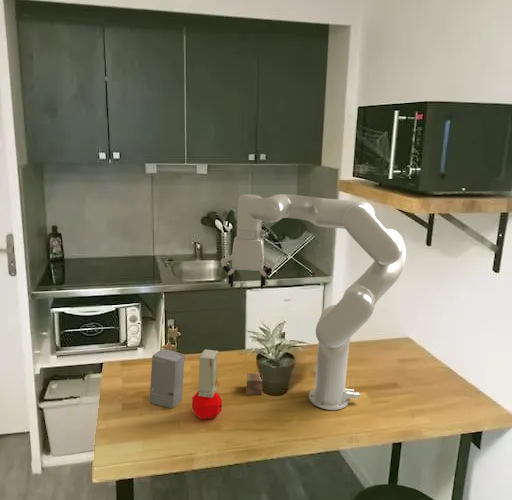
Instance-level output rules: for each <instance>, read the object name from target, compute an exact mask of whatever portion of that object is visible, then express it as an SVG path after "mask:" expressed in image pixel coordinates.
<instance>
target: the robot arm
mask: <svg viewBox="0 0 512 500" xmlns="http://www.w3.org/2000/svg"><path fill="white" fill-rule="evenodd" d="M237 203H238V204H237V226H236V227H237V229H236V236H235V237H234V239H233V244H232V253H231V254H230V255H229V256H226V257H224V258H221V259H220V264H221V266H222V268H223V270H224V271H225V273H227V275H228V280H227V281H228V285H230V288H233V287H234V286H233V285H234V273H235V271H238V270H239V271H253V272H254V271H255V272H256V271H257V272H258V271H259V273H260V289H261V290H262V289H263V290H264V286H266V279H267V275H269V274H271V272H272V270H273V269H274V267H275V265H276V262H275V261H273V260H271V259H269V258H268V257H266V256H265V244H264V243H265V242H264V238H263V237H264V236H265V237H266V234H267V233H266V231H264V230H262V227H263V225H262V224H263V222H267V223H276V222H279V221H280V220H283V219H285V218H286V219H287V218H288V219H296V220H304V221H308V222H309V223H312V224H313V225H314V226H317V227H319V228H320V227H321V228H330V229H341V230H343V229H344V230H345V231H347V233H348V235H350V237H352V239H353V240H354V241H355V242H356V243H357V244H358V245H359V247H360V248H361V249H363V251H364V252H365V253H366V254H367V255H368V256H369V257H370V258H371V259H372V260H373V262H372V264H371V265H369V267H368V268H367V269H366V270H365V272H364V273H363V274H362V275H360V276H359V278H358V279H356V281H355V282H353V283H352V284H351V285H350V286H348V287H347V288H346V289H345V291H344V293H343V295H342V298H341V299H340V300H339V301H338V302H337V303H336V304H332V305H329V306H328V307H326V308H325V309H324V310H323V311H322V313H321V314H320V317H319V319H318V322H317V323H316V326H315V336H316V339H317V341H318V345H317V354H316V366H315V379H314V389H313V390H310V392H309V394H308V399H309V402H310V403H311V404H312V405H314V406H316V407H317V408H319V409H323V410H328V411H336V410H337V411H338V410H341V409H344V408H346V407H347V406H348V405H349V399H350V398H351V399H359V398H360V392H359V391H355V389H354V388H347V387H346V380H347V379H346V378H347V369H348V359H349V350H350V341H351V340H350V339H351V337H352V336H354V335H355V334H356V333H357V332H358V331H359V330H360V329H361V328H362V327H363V326H364V325H365V324H366V323H367V322H368V321H369V319H370V318H371V317H372V315H373V313H374V309H375V305H376V303H377V302H378V301H379V300H380V299H381V298H382V297H383V296H384V295H385V294H386V292H388V290H390V288H391V287H393V285H395V283H396V282H397V280H398V279H399V278H400V276H401V274H402V272H403V270H404V267H405V264H406V259H407V251H406V244H405V242H404V239H403V237H402V235H401V234H400V233H399V232H398V231H397V230H395V229H393V228H386V227H385V226H383V224H382V223H381V222H380V221H379V220H378V218H377V217H376V213H375V209H374V208H373V206H372V204H370V203H369V202H366V201H361V200H352V199H351V200H349V199H337V198H323V197H318V196H317V197H315V196H306V195H297V194H286V193H285V194H284V193H282V194H281V193H280V194H279V193H278V194H273V195H272V196H269V197H262V196H260V195H258V194H249V193H248V194H241V195H240V196H239V197H238V202H237ZM230 261H231V267H229V266H228V265H227V263H228V262H230ZM265 263H266V264H267V265H269V266H268V267H267V268H266V269H265V268H264V264H265Z"/></svg>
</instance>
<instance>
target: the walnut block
mask: <svg viewBox="0 0 512 500" xmlns="http://www.w3.org/2000/svg"><path fill="white" fill-rule="evenodd" d="M260 374H261V373H250V372H249V373H248V372H247V373H246V388H245V389H246V392H245V395H252V396H253V395H255V396H257V395H258V396H262V394H263V378H262V379H261V377H260Z"/></svg>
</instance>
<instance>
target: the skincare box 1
mask: <svg viewBox="0 0 512 500" xmlns="http://www.w3.org/2000/svg"><path fill="white" fill-rule="evenodd" d="M185 355H186V354H184V353H181V352H177V351H175V350H169V349H165V348H161V349H160V350H158V351H157V352H156V353H154V354H153V355H152V357H151V369H150V373H151V374H150V388H149V404H154V405H156V406H157V405H158V406H162V407H164V408H169V409H174V408H175V407H176V406H177V405H178V404H179V403H180V402H181V401H182V399H183V389H184V388H183V387H184V386H183V384H184V371H185V370H184V369H185V359H186V358H185Z"/></svg>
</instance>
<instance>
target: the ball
mask: <svg viewBox="0 0 512 500" xmlns="http://www.w3.org/2000/svg"><path fill="white" fill-rule="evenodd" d="M191 398H192V400H191V409H192V410H193V412H194V414H195V416H197V417H198V418H199V419H200V420H202V421H203V420H209V419H215V418H216V417H217V416H218V415H219V414H220V413H221V412H222V409H223V408H222V407H223V399H222V397H221V396H220V394H219V393H218V391H216V392H215V394H214V396H213V397H212V398H211V397H203V396H199V390H198V391H197V392H196V393H195V394H194V395H193V396H192V397H191Z"/></svg>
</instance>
